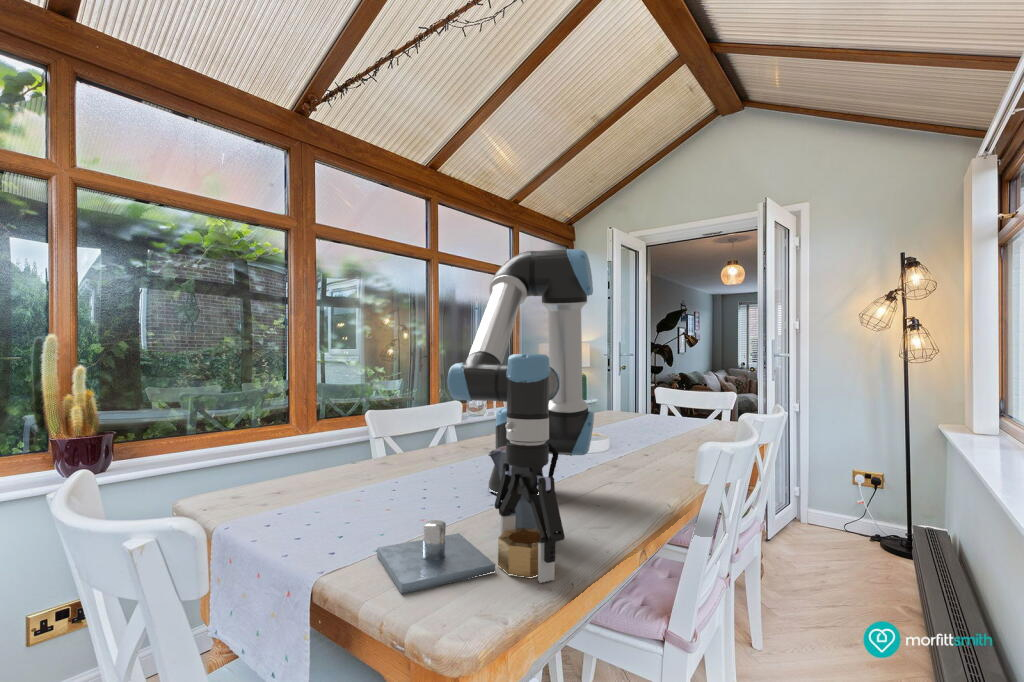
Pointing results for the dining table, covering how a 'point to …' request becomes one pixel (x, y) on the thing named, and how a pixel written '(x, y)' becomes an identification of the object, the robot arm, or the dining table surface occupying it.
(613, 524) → the dining table surface
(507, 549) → the ring
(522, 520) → the moka pot
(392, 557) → the peg base plate
